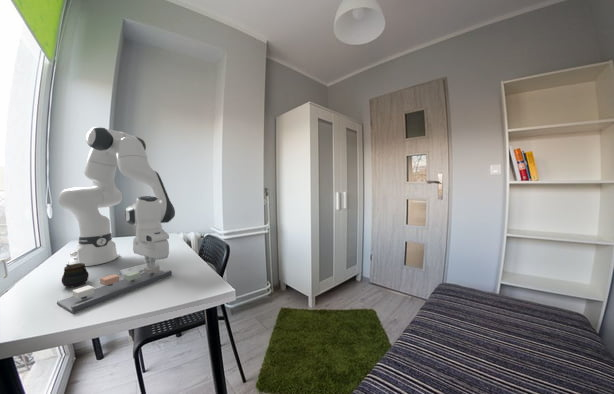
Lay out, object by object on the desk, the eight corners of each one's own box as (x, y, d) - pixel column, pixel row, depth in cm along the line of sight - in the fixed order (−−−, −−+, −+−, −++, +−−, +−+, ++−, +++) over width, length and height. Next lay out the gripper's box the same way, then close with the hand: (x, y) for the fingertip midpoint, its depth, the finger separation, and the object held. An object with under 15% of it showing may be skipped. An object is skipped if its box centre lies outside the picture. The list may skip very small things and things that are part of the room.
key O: (73, 299, 70) (72, 290, 70) (89, 294, 73) (88, 285, 73) (78, 302, 68) (77, 292, 68) (94, 296, 72) (94, 287, 72)
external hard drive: (157, 268, 101) (123, 277, 91) (151, 264, 106) (119, 272, 96) (157, 265, 100) (123, 274, 91) (151, 261, 106) (119, 269, 96)
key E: (100, 286, 76) (99, 278, 76) (114, 282, 80) (113, 273, 80) (105, 288, 74) (105, 280, 74) (119, 284, 78) (119, 275, 78)
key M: (143, 275, 89) (143, 267, 89) (154, 271, 92) (153, 264, 92) (149, 276, 87) (149, 269, 87) (159, 273, 91) (159, 266, 91)
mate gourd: (92, 279, 88) (91, 256, 88) (84, 286, 82) (83, 262, 81) (67, 283, 85) (66, 259, 84) (57, 291, 78) (55, 265, 77)
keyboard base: (56, 303, 70) (56, 297, 69) (154, 270, 97) (154, 266, 97) (73, 313, 64) (72, 307, 64) (171, 275, 91) (171, 270, 91)
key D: (123, 282, 83) (123, 274, 82) (135, 278, 86) (135, 270, 86) (129, 284, 81) (128, 276, 81) (141, 279, 84) (140, 272, 84)
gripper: (127, 233, 90) (129, 264, 91) (155, 238, 82) (156, 273, 82) (144, 230, 96) (145, 259, 97) (171, 235, 87) (172, 267, 88)
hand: (150, 266), depth 90 cm, fingers closed
